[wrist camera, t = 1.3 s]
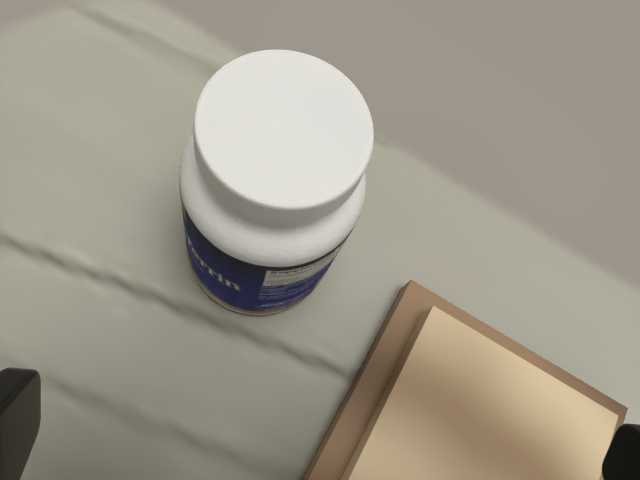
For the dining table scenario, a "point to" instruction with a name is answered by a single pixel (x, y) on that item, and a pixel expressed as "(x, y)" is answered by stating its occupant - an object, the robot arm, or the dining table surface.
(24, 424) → the robot arm
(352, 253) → the dining table surface
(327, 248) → the pill bottle
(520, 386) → the stand
